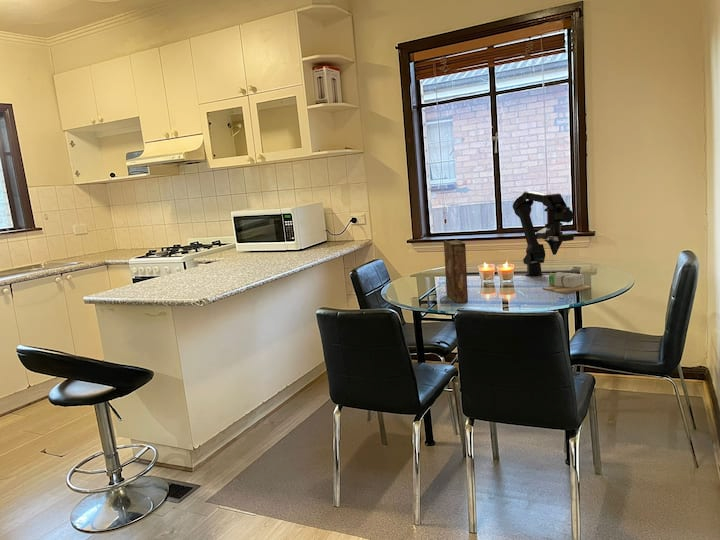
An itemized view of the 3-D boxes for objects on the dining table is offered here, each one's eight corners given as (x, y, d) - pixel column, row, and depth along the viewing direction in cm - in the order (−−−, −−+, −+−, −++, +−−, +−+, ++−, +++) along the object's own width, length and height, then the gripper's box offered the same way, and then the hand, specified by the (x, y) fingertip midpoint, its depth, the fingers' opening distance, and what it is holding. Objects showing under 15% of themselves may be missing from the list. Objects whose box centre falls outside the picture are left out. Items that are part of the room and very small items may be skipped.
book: (468, 302, 227) (466, 243, 222) (456, 303, 226) (453, 244, 222) (458, 294, 243) (455, 239, 238) (446, 295, 242) (443, 240, 238)
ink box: (548, 285, 241) (573, 288, 232) (548, 275, 241) (573, 277, 232) (558, 282, 247) (583, 284, 238) (558, 271, 246) (583, 273, 237)
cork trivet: (542, 288, 239) (542, 287, 239) (567, 283, 245) (567, 282, 245) (564, 293, 228) (564, 292, 227) (590, 288, 234) (590, 286, 233)
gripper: (526, 222, 253) (527, 255, 256) (555, 224, 237) (556, 259, 239) (544, 219, 258) (544, 251, 260) (574, 221, 241) (574, 255, 244)
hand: (554, 254), depth 251 cm, fingers closed
